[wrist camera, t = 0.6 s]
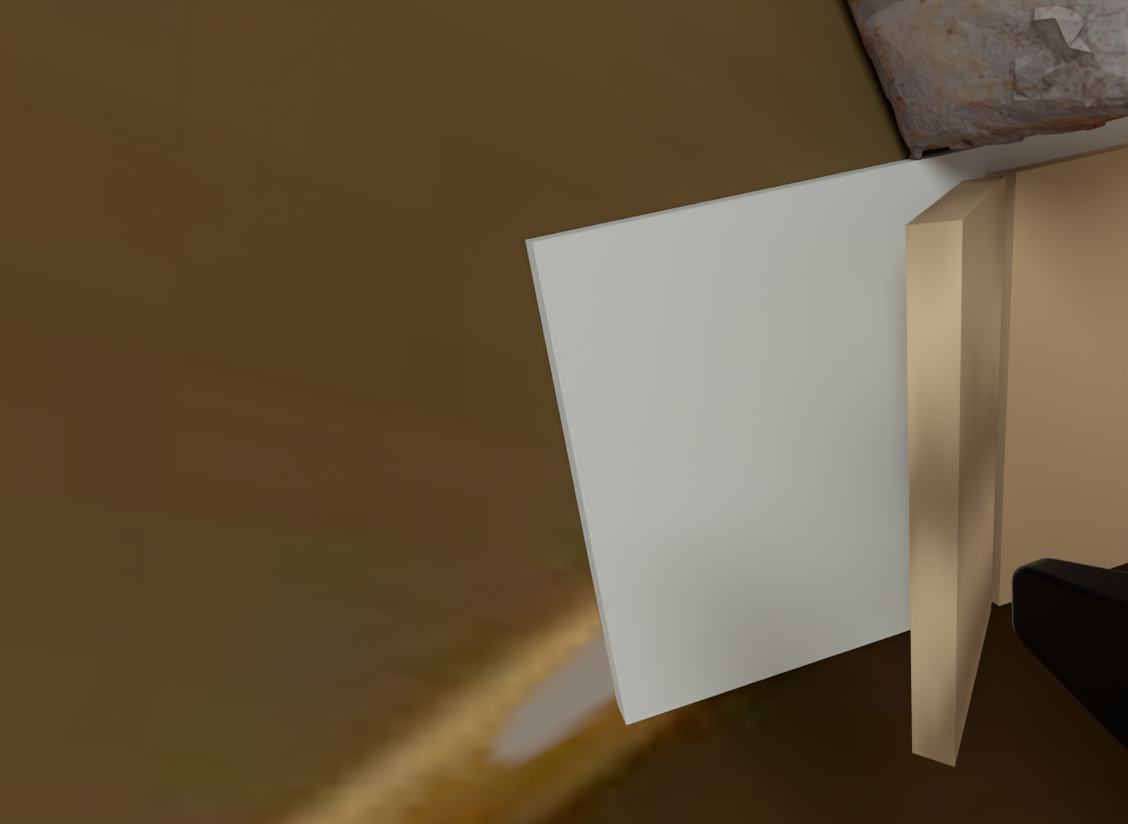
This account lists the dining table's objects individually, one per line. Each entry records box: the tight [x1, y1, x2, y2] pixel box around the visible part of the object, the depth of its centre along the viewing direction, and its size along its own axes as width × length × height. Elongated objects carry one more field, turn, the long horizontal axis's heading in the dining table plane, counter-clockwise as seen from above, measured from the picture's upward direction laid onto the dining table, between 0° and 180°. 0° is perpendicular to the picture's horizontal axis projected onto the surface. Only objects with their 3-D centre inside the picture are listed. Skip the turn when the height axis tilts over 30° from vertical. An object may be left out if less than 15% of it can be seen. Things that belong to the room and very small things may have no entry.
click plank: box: [906, 175, 1006, 767], centre depth 18 cm, size 14×7×1 cm
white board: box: [525, 117, 1128, 725], centre depth 21 cm, size 16×20×2 cm
